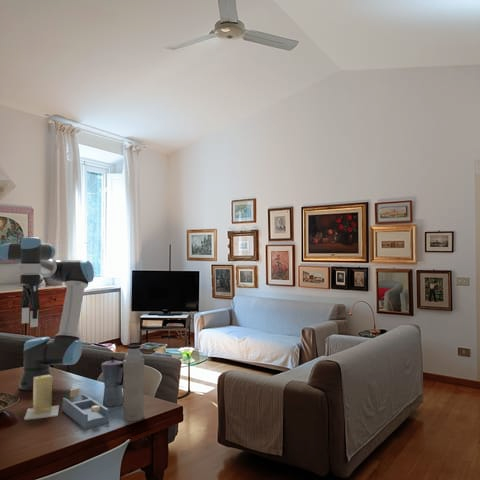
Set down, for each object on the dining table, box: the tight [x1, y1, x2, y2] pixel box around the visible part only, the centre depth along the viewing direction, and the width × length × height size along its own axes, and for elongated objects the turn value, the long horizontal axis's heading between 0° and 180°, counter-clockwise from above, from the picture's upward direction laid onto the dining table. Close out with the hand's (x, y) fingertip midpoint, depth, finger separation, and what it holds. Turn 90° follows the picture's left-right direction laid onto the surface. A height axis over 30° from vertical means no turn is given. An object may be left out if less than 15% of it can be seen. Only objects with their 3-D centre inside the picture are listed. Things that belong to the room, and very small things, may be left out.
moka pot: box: [100, 356, 123, 407], centre depth 185 cm, size 10×15×20 cm, turn 55°
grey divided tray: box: [62, 387, 110, 429], centre depth 171 cm, size 25×9×8 cm, turn 40°
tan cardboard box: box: [32, 375, 53, 415], centre depth 175 cm, size 4×6×14 cm, turn 131°
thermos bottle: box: [122, 344, 145, 422], centre depth 170 cm, size 8×8×28 cm
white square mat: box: [23, 405, 60, 421], centre depth 174 cm, size 12×12×1 cm
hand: (29, 325), depth 180 cm, fingers open, 13 cm apart
